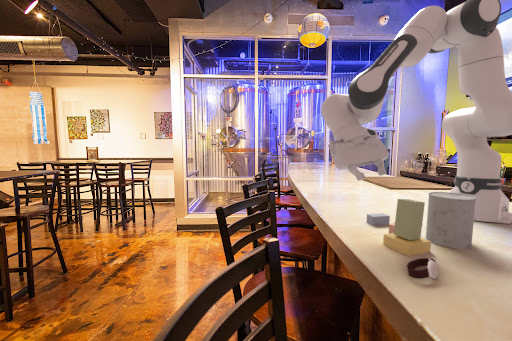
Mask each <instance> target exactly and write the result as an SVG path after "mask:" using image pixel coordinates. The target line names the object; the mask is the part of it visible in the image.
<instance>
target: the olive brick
mask: <svg viewBox="0 0 512 341" xmlns="http://www.w3.org/2000/svg"><path fill="white" fill-rule="evenodd" d="M396 204H397V205H396V211H395V221H394V223H395V227H394V235H396V236H399V237H402V238H405V239H408V240H417V239H420V238H422V231H423V230H422V228H423V221H424V219H423V218H424V213H425V205H426V202H424V201H419V200H415V199H409V198H397V203H396Z"/></svg>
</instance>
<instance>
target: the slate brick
mask: <svg viewBox="0 0 512 341" xmlns="http://www.w3.org/2000/svg"><path fill="white" fill-rule="evenodd" d="M390 218H391V215H388V214H385V213H384V212H383V213H367V214H366V223H367V224H369V225H370V226H385V225H386V226H387V224H388V225H389V224H390Z"/></svg>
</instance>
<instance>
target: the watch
mask: <svg viewBox="0 0 512 341" xmlns="http://www.w3.org/2000/svg"><path fill="white" fill-rule="evenodd" d="M420 267H426V268H424V269H417V268H420ZM406 270H407V273H408V276H409V277H410V278H414V279H419V280H420V279H426V278H427V279H428V278H430V279H434V280H435V279H437V277H438V272H439V270H438V266H437V262H436V259H434V258H428V257H423V258H416V259H413V260H410V261H409V262H407V264H406Z"/></svg>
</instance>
